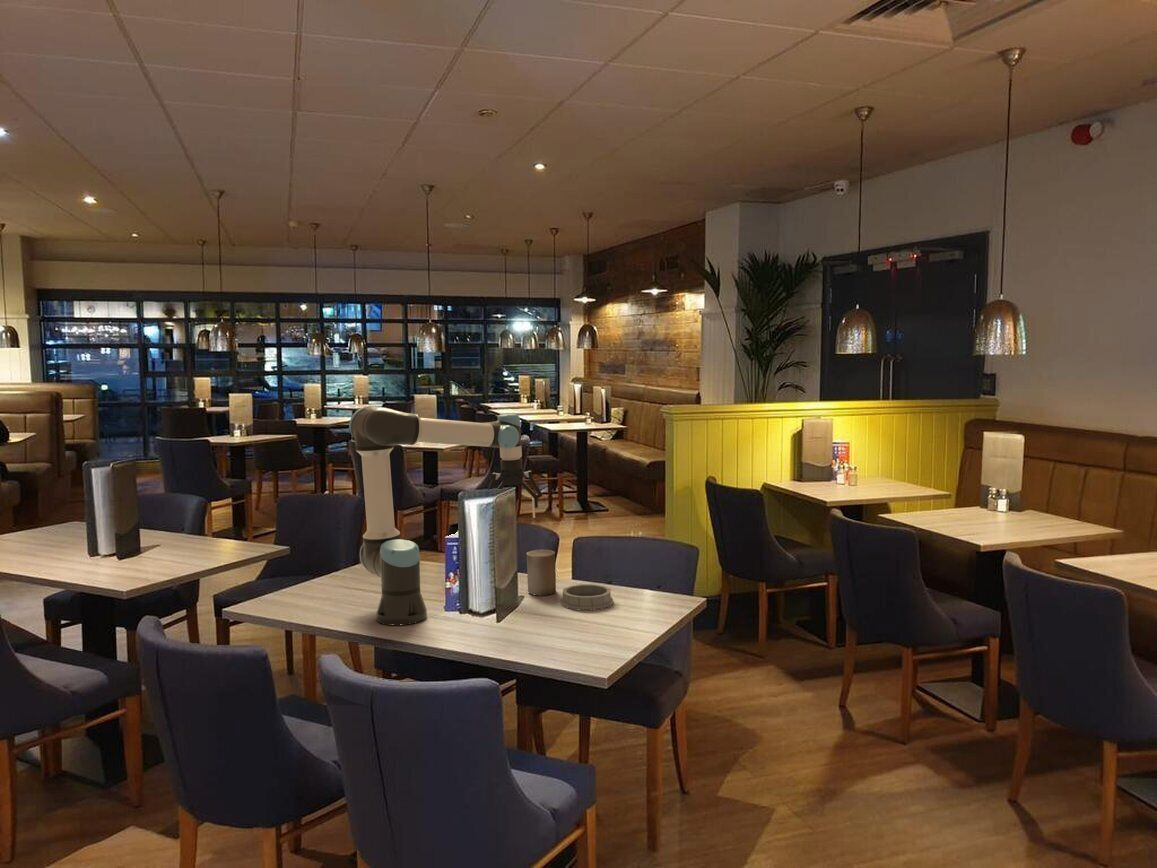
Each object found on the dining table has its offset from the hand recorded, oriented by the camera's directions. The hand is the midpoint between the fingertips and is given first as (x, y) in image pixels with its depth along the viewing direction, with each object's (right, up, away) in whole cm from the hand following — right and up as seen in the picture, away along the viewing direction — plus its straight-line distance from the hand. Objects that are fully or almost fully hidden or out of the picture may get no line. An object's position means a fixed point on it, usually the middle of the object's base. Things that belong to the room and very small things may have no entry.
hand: (514, 518), depth 295 cm
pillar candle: (+10, -24, -9) cm, 28 cm away
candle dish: (+25, -25, -22) cm, 42 cm away
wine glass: (-19, -23, +8) cm, 31 cm away
